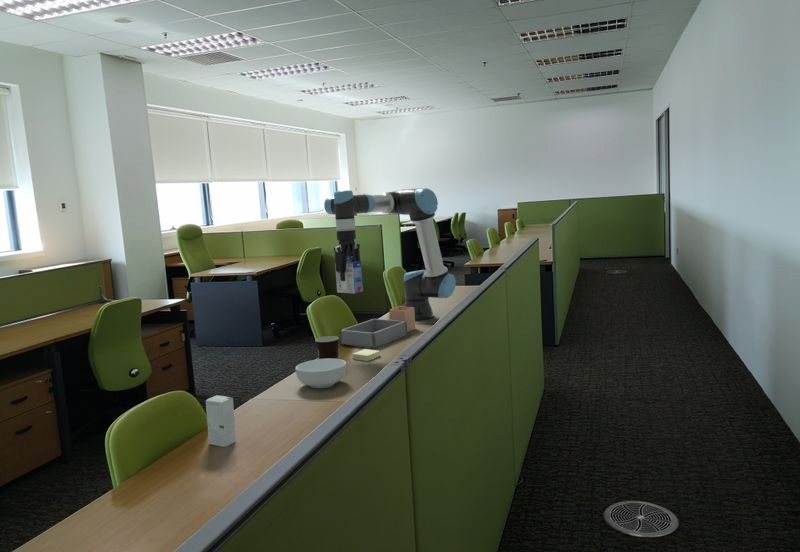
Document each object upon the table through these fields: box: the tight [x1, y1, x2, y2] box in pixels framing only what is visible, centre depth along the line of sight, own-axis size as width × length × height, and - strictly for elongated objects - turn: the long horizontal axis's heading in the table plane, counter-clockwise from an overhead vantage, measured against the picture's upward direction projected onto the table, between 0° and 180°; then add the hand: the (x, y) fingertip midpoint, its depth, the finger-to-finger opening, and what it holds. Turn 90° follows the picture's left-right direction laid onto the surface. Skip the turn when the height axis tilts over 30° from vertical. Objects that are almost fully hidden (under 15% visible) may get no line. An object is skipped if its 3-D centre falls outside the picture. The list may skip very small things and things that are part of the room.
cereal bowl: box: [295, 358, 348, 389], centre depth 207 cm, size 17×17×7 cm
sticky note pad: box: [351, 348, 381, 362], centre depth 238 cm, size 8×8×2 cm
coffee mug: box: [314, 335, 340, 359], centre depth 232 cm, size 12×9×10 cm
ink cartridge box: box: [334, 256, 364, 294], centre depth 248 cm, size 10×6×14 cm, turn 53°
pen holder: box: [389, 305, 417, 333], centre depth 281 cm, size 8×8×10 cm
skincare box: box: [205, 394, 237, 448], centre depth 162 cm, size 6×4×12 cm
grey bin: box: [339, 318, 408, 349], centre depth 267 cm, size 24×18×6 cm
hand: (349, 287), depth 249 cm, fingers closed on ink cartridge box, 5 cm apart
